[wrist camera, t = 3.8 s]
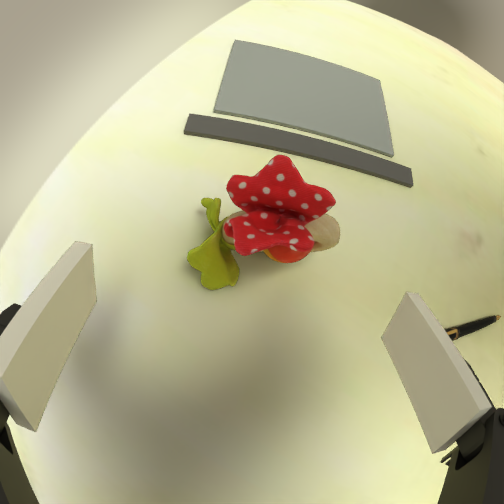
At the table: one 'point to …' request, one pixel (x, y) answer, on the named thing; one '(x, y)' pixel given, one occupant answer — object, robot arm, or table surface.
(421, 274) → the table surface
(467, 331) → the fountain pen
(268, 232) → the bird rattle
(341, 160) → the mat
